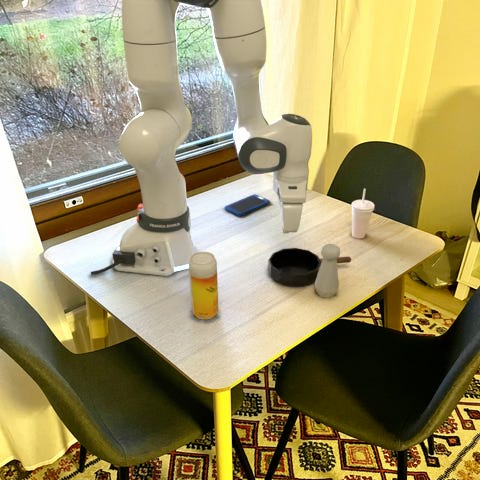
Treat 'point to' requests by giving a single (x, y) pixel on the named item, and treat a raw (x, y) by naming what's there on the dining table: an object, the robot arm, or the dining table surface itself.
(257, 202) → the cell phone
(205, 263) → the glass of yellow beer
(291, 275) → the pan
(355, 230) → the smoothie
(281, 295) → the dining table surface
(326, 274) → the salt shaker
